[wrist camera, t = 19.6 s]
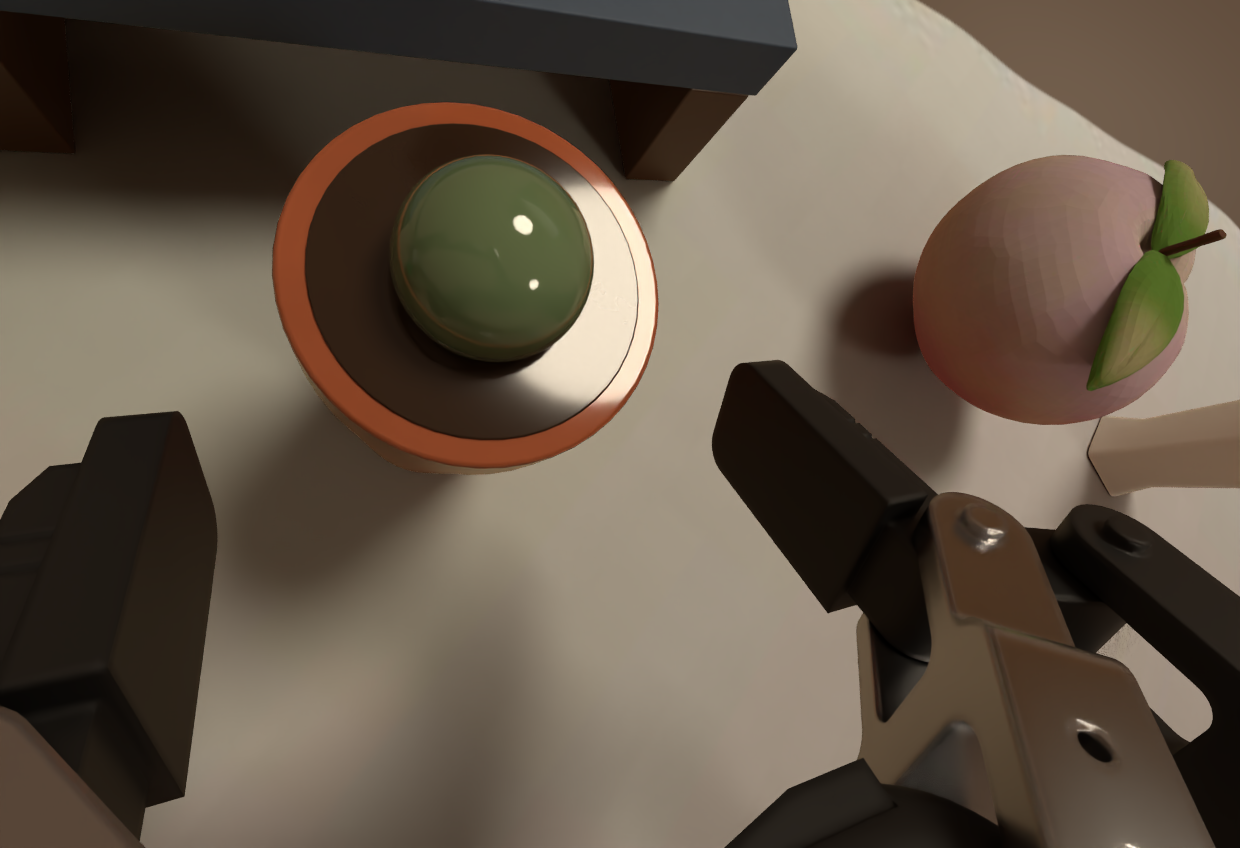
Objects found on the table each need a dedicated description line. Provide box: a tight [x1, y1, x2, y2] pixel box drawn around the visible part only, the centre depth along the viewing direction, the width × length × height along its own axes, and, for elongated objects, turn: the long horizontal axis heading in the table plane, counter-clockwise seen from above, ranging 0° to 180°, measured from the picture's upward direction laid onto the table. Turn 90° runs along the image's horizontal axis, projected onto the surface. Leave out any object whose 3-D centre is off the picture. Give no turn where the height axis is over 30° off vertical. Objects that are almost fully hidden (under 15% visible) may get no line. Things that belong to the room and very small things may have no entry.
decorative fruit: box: [913, 155, 1226, 425], centre depth 22 cm, size 9×8×10 cm
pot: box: [272, 102, 658, 475], centre depth 13 cm, size 6×6×12 cm
